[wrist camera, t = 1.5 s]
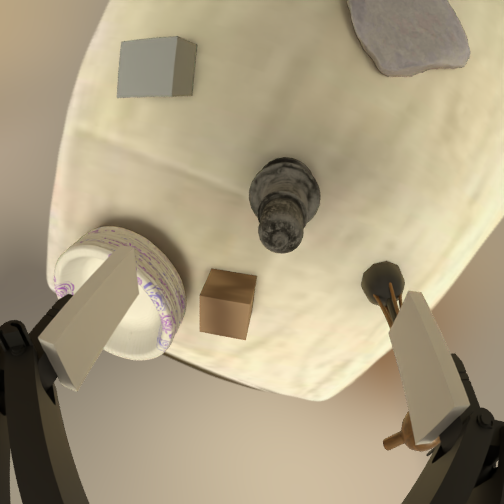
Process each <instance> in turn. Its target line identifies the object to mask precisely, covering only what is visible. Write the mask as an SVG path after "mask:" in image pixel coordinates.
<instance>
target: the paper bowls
mask: <svg viewBox="0 0 504 504" xmlns="http://www.w3.org/2000/svg"><path fill="white" fill-rule="evenodd" d="M120 245H123V246H128V247H134V252H135V262H136V272H137V280H138V288H139V295H138V296H137V298H136V299H135V301H134V302H133V304H132V305H131V307H130V308H129V310H128V311H127V313H126V314H125V316H124V317H123V319H122V320H121V322H120V323H119V325H118V326H117V328H116V330H115V331H114V333H113V334H112V336H111V337H110V339H109V340H108V342H107V344H106V345H105V347H104V348H103V349H104V350H106V351H108V352H110V353H112V354H114V355H117V356H119V357H123V358H127V359H132V360H148V359H153V358H156V357H158V356H160V355H161V354H163V353H164V352H165V351H166V350H167V349H168V348H169V346H170V345H171V343H172V341H173V338H174V336H175V334H176V333H177V331H178V328H179V326H180V324H181V322H182V320H183V317H184V314H185V310H186V295H185V290H184V286H183V283H182V281H181V278H180V276H179V274H178V272H177V270H176V269H175V267H174V266H173V264H172V263H171V262H170V260H169V259H168V258H167V257H166V255H165V254H164V253H163V252H161V251H160V250H159V249H158V248H157V247H156V246H155V245H154V244H153V243H152V242H150V241H149V240H148V239H146V238H145V237H143V236H141V235H139V234H137V233H135V232H133V231H131V230H128V229H125V228H121V227H116V226H104V227H99V228H96V229H93V230H91V231H89V232H88V233H87V234H85V235H84V236H82V237H81V238H80V239H79V240H78V241H77V242H75V243H74V244H73V245H72V246H70V247H69V248H68V249H67V250H66V251H65V252H64V253H63V254H62V255H61V256H60V257H59V259H58V261H57V263H56V266H55V270H54V285H55V290H56V294H57V297H58V299H60V298H62V297H64V296H65V295H67V294H71V295H74V294H75V293H76V292H77V291H78V290H79V288H80V287H81V286H82V285H83V284H84V283H85V282H86V281H87V280H88V279H89V277H90V276H91V275H92V274H93V273H94V272H95V271H96V270H97V269H98V268H99V267H100V266H101V265H102V264H103V263H104V261H105V260H106V259H107V258H108V257H109V256H110V255H111V254H112V253H113V252H114V251H115V250H116V249H117V248H118V247H119V246H120Z"/></svg>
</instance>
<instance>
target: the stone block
mask: <svg viewBox="0 0 504 504" xmlns="http://www.w3.org/2000/svg"><path fill="white" fill-rule="evenodd" d="M347 5H348V8H349V10H350V13H351V20H352V23H353V26H354V29H355V33H356V35H357V37H358V38H359V40H360V43H361V45H362V47H363V49H364V50H365V51H366V53H367V54H368V55H369V56H370V57H371V58H372V59H373V61H374V63H375V64H376V66H377V68H378V70H379V71H380V72H381V73H382V74H385V75H386V76H391V77H396V76H402V77H411V76H413V75H416V74H418V73H423V72H424V71H427V70H429V69H438V68H451V69H455V68H462V67H464V66H465V65H466V62H467V61H468V59H469V57H470V48H469V45H468V39H467V36H466V34H465V31H464V29H463V27H462V25H461V23H460V21H459V19H458V17H457V15H456V13H455V12H454V10H453V9H452V7H451V6H450V4H449V3H448V1H447V0H347Z"/></svg>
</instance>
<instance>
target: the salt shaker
mask: <svg viewBox="0 0 504 504" xmlns="http://www.w3.org/2000/svg"><path fill="white" fill-rule="evenodd" d="M249 201H250V205H251V208H252V210H253V212H254V213H255V215H256V216H257V217H258V220H259V223H260V224H259V229H258V233H259V237H260V240H261V242H262V244H263V245H264V246H265V247H266V248H267V249H269V250H270V251H272V252H275V253H288V252H291V251H293V250H294V249H296V248H297V247H298V246H299V244H300V243H301V240H302V238H303V229H304V228H305V226H306V223H307V222H309V221H310V220H311V219H312V218H313V217H314V215H315V214H316V212H317V210H318V207H319V204H320V190H319V186H318V184H317V182H316V180H315V178H314V177H313V176H312V174H311V172H310V170H309V169H308V168H307V167H306V165H304V164H303V163H301V162H300V161H298V160H295V159H293V158H279V159H275V160H273V161H271V162H269V163H268V164H267V165H266V166H264V168H263V169H262V170H261V171H260V172H259V173H258V174H257V175H256V177H255V178H254V180H253V181H252V184H251V187H250V190H249Z"/></svg>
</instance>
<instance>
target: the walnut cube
mask: <svg viewBox="0 0 504 504" xmlns="http://www.w3.org/2000/svg"><path fill="white" fill-rule="evenodd" d="M256 279H257V276H254V275H248V274H242V273H236V272H230V271H224V270H218V269H211V271H210V274H209V276H208V278H207V280H206V283H205V285H204V287H203V289H202V291H201V294H200V332H205V333H210V334H215V335H220V336H226V337H231V338H236V339H242V340H246V336H247V332H248V327H249V322H250V317H251V313H252V307H253V300H254V293H255V286H256Z"/></svg>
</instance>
